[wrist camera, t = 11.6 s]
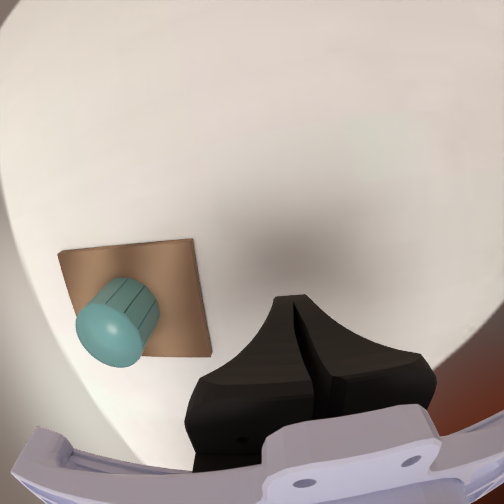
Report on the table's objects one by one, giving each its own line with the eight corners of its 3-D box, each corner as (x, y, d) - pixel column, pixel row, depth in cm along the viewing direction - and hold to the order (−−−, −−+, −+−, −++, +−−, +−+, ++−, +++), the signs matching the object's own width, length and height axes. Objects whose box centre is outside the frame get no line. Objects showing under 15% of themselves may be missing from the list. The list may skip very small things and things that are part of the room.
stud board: (192, 238, 21) (180, 256, 18) (211, 351, 24) (206, 379, 21) (62, 250, 22) (38, 266, 18) (94, 347, 25) (78, 370, 21)
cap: (151, 276, 21) (129, 305, 17) (165, 334, 23) (149, 369, 19) (94, 278, 21) (66, 305, 17) (111, 333, 23) (90, 364, 19)
